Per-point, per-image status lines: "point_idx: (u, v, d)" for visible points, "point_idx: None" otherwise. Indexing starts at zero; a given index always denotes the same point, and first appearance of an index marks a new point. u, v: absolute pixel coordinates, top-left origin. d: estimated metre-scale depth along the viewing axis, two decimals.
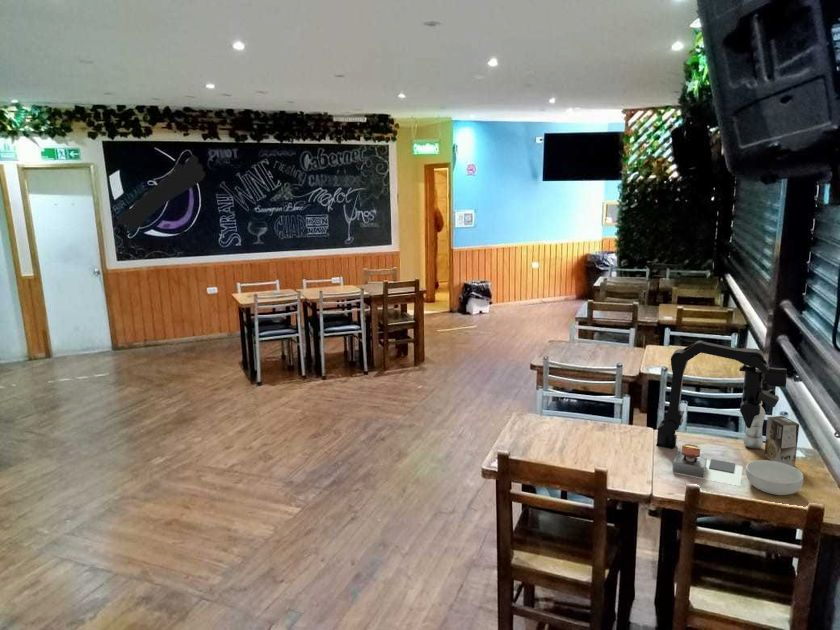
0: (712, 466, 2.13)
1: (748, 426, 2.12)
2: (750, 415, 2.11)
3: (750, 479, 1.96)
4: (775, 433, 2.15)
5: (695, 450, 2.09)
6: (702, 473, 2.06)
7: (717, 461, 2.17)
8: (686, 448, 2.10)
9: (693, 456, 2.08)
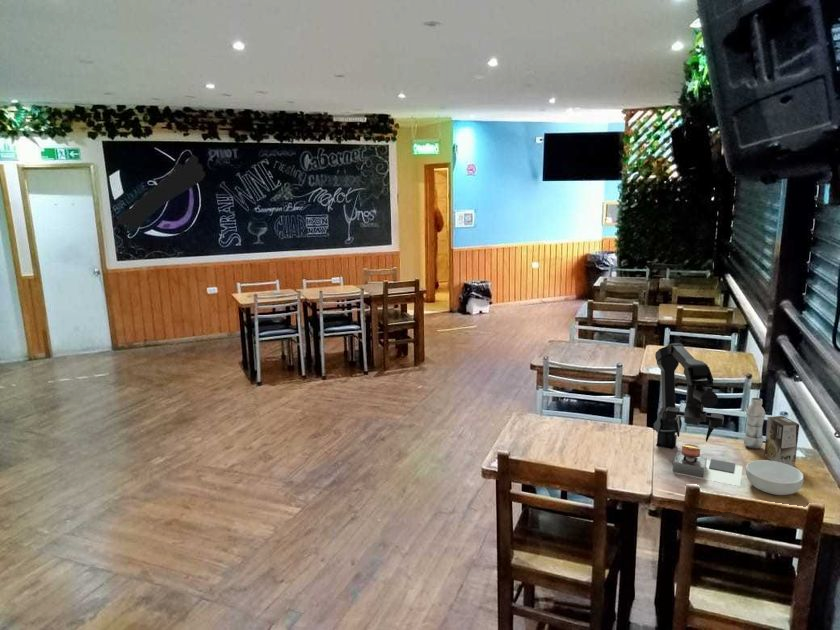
0: (712, 466, 2.13)
1: None
2: None
3: (750, 479, 1.96)
4: (775, 433, 2.15)
5: (695, 450, 2.09)
6: (702, 473, 2.06)
7: (717, 461, 2.17)
8: (686, 448, 2.10)
9: (693, 456, 2.08)
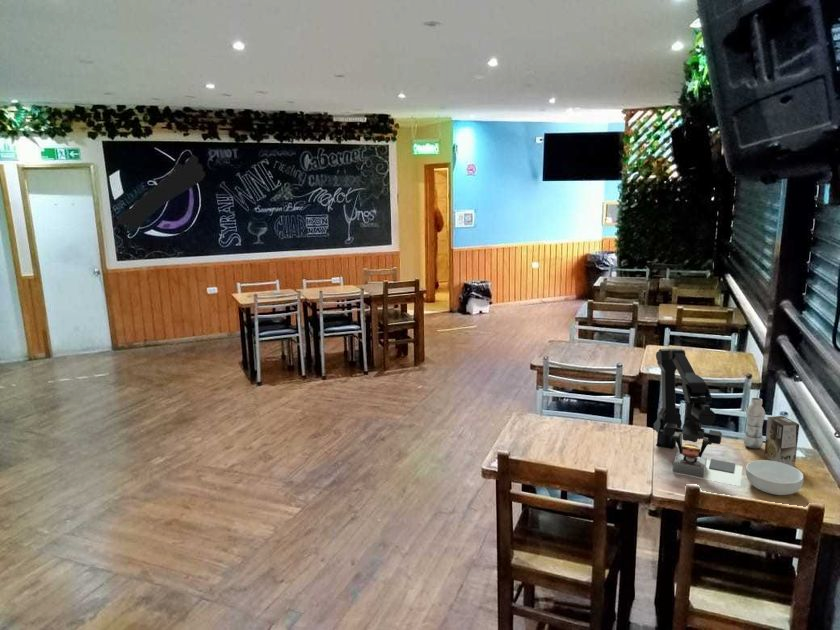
0: (712, 466, 2.13)
1: None
2: None
3: (750, 479, 1.96)
4: (775, 433, 2.15)
5: (695, 450, 2.09)
6: (702, 473, 2.06)
7: (717, 461, 2.17)
8: (686, 448, 2.10)
9: (693, 456, 2.08)
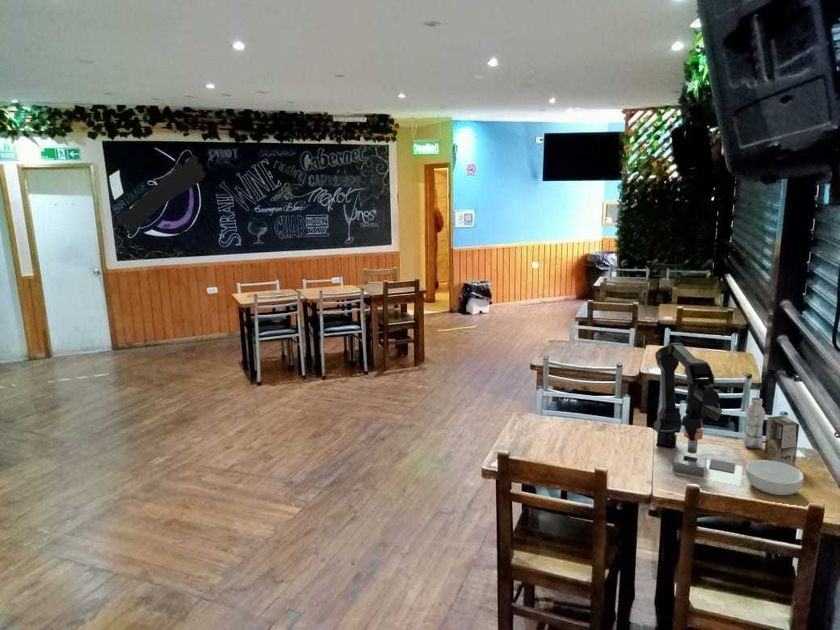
0: (712, 466, 2.13)
1: (691, 439, 2.07)
2: (693, 428, 2.05)
3: (750, 479, 1.96)
4: (775, 433, 2.15)
5: (699, 429, 2.10)
6: (702, 473, 2.06)
7: (717, 461, 2.17)
8: (697, 431, 2.08)
9: None
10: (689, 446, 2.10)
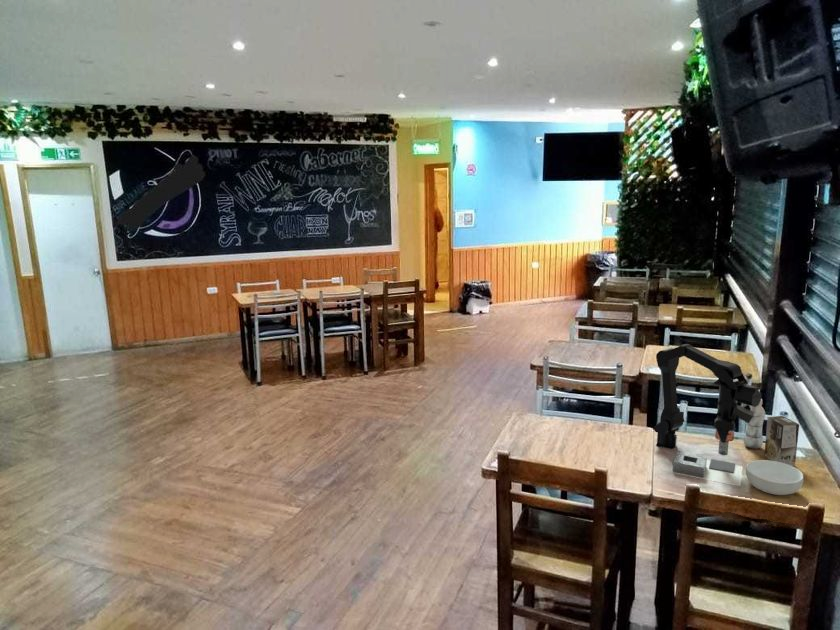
0: (712, 466, 2.13)
1: (723, 441, 2.09)
2: (725, 430, 2.07)
3: (750, 479, 1.96)
4: (775, 433, 2.15)
5: (730, 431, 2.12)
6: (702, 473, 2.06)
7: (717, 461, 2.17)
8: (729, 433, 2.10)
9: None
10: (720, 448, 2.12)
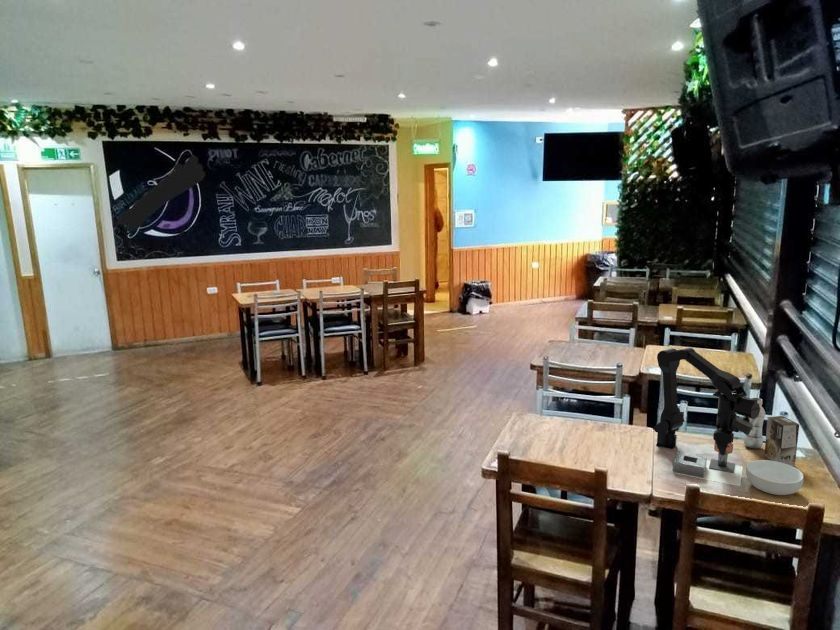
0: (712, 466, 2.13)
1: (722, 453, 2.09)
2: (724, 442, 2.07)
3: (750, 479, 1.96)
4: (775, 433, 2.15)
5: (729, 443, 2.13)
6: (702, 473, 2.06)
7: (717, 461, 2.17)
8: (728, 445, 2.10)
9: None
10: (719, 460, 2.13)
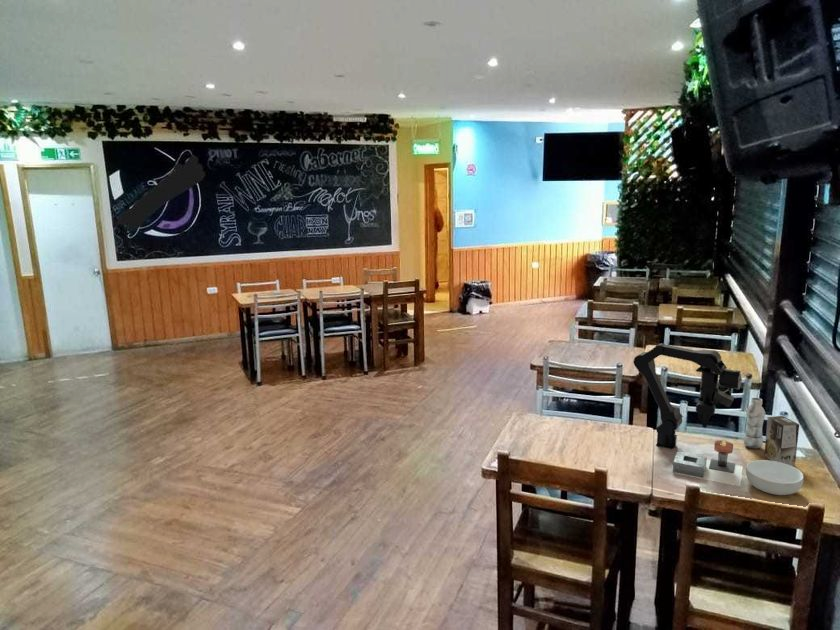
0: (712, 466, 2.13)
1: (704, 425, 2.18)
2: (706, 415, 2.17)
3: (750, 479, 1.96)
4: (775, 433, 2.15)
5: (729, 443, 2.13)
6: (702, 473, 2.06)
7: (717, 461, 2.17)
8: (728, 445, 2.10)
9: None
10: (719, 460, 2.13)
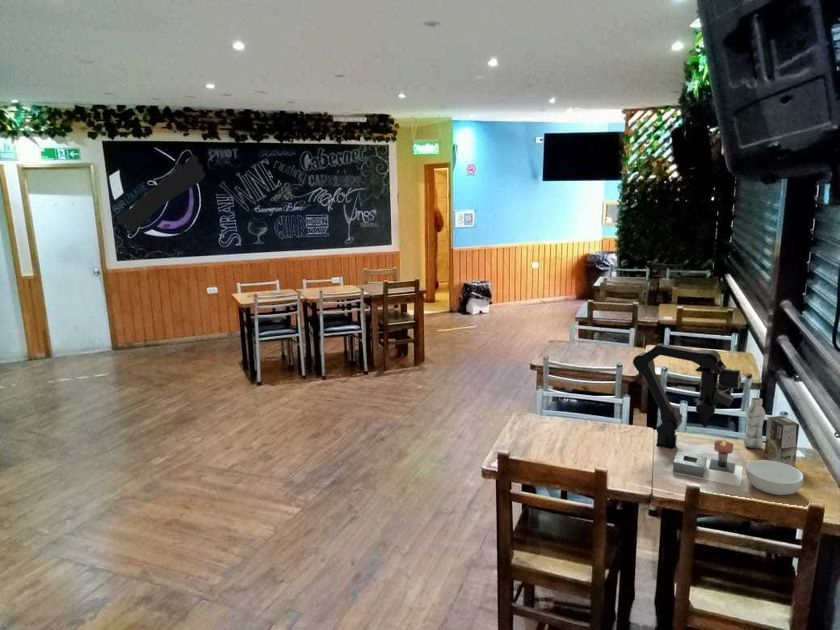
0: (712, 466, 2.13)
1: (704, 425, 2.18)
2: (706, 414, 2.17)
3: (750, 479, 1.96)
4: (775, 433, 2.15)
5: (729, 443, 2.13)
6: (702, 473, 2.06)
7: (717, 461, 2.17)
8: (728, 445, 2.10)
9: None
10: (719, 460, 2.13)
